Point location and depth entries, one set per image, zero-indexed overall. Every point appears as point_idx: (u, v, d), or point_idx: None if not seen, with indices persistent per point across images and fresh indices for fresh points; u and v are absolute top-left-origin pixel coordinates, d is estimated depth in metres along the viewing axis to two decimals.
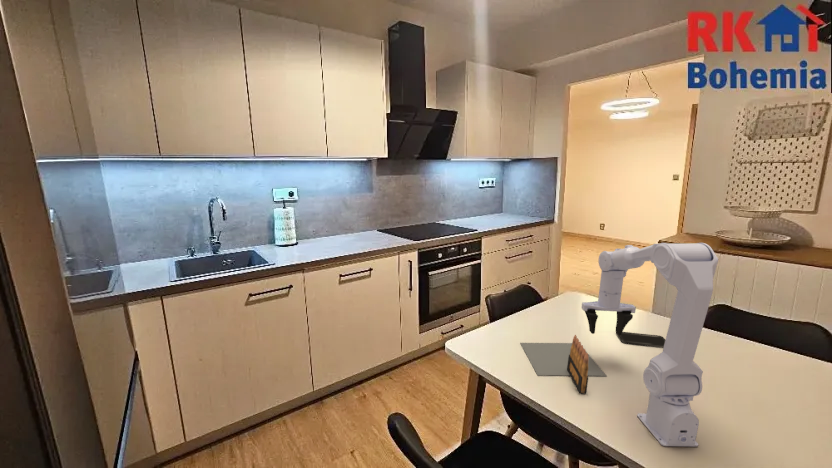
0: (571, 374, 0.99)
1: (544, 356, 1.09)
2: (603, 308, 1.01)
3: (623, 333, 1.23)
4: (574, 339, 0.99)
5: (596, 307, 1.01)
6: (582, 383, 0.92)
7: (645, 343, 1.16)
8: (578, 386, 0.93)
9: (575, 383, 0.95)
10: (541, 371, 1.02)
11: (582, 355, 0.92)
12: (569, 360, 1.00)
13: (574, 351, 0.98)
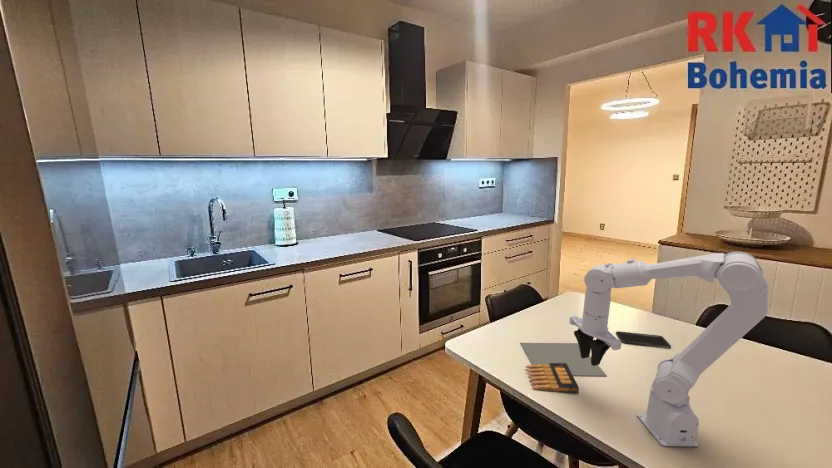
0: None
1: (544, 356, 1.09)
2: (579, 326, 0.89)
3: (623, 333, 1.23)
4: (529, 368, 1.02)
5: (576, 323, 0.91)
6: (566, 391, 0.93)
7: (645, 343, 1.16)
8: None
9: None
10: None
11: (537, 384, 0.96)
12: None
13: None
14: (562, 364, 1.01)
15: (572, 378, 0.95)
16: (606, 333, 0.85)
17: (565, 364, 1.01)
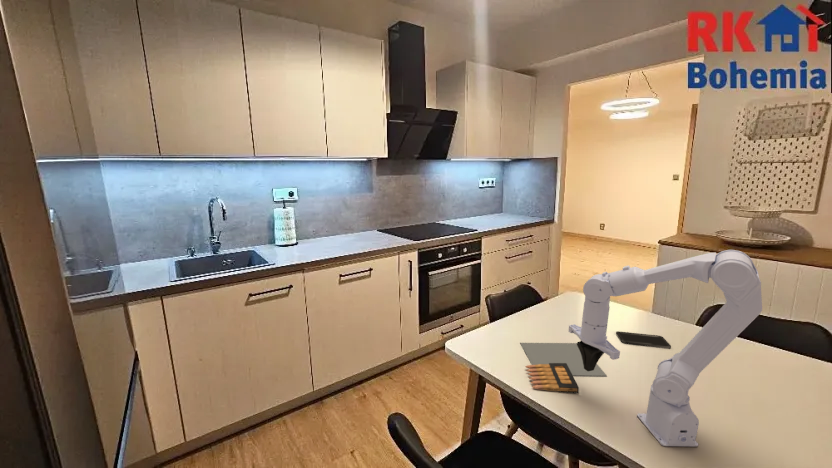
0: None
1: (544, 356, 1.09)
2: (578, 335, 0.89)
3: (623, 333, 1.23)
4: (529, 368, 1.02)
5: (575, 332, 0.91)
6: (566, 391, 0.93)
7: (645, 343, 1.16)
8: None
9: None
10: None
11: (537, 384, 0.96)
12: None
13: None
14: (562, 364, 1.01)
15: (572, 378, 0.95)
16: (605, 342, 0.86)
17: (565, 364, 1.01)
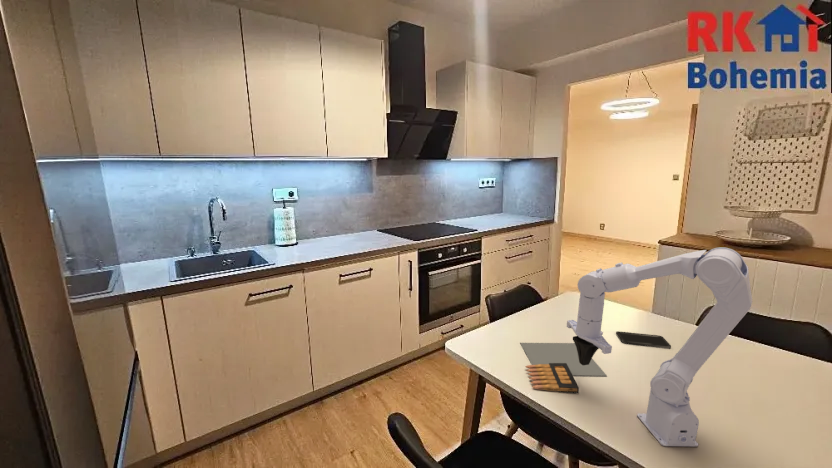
0: None
1: (544, 356, 1.09)
2: (574, 330, 0.92)
3: (623, 333, 1.23)
4: (529, 368, 1.02)
5: (571, 326, 0.94)
6: (566, 391, 0.93)
7: (645, 343, 1.16)
8: None
9: None
10: None
11: (537, 384, 0.96)
12: None
13: None
14: (562, 364, 1.01)
15: (572, 378, 0.95)
16: (599, 337, 0.88)
17: (565, 364, 1.01)
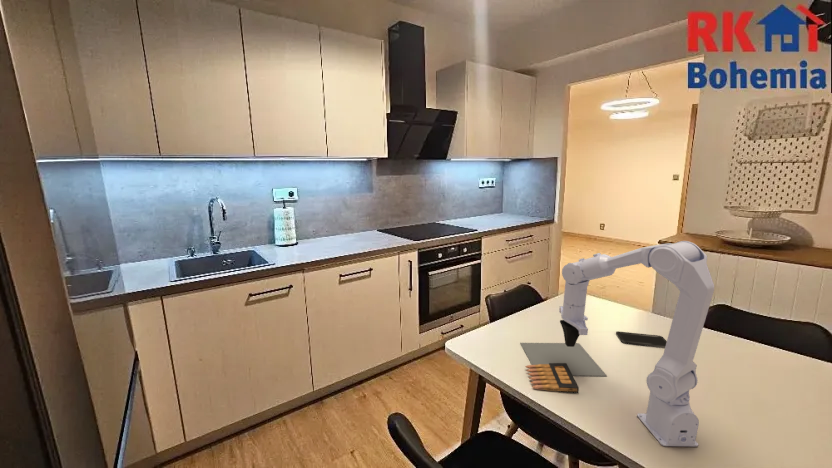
0: None
1: (544, 356, 1.09)
2: (561, 313, 1.02)
3: (623, 333, 1.23)
4: (529, 368, 1.02)
5: (561, 311, 1.04)
6: (566, 391, 0.93)
7: (645, 343, 1.16)
8: None
9: None
10: None
11: (537, 384, 0.96)
12: None
13: None
14: (562, 364, 1.01)
15: (572, 378, 0.95)
16: (581, 321, 0.97)
17: (565, 364, 1.01)
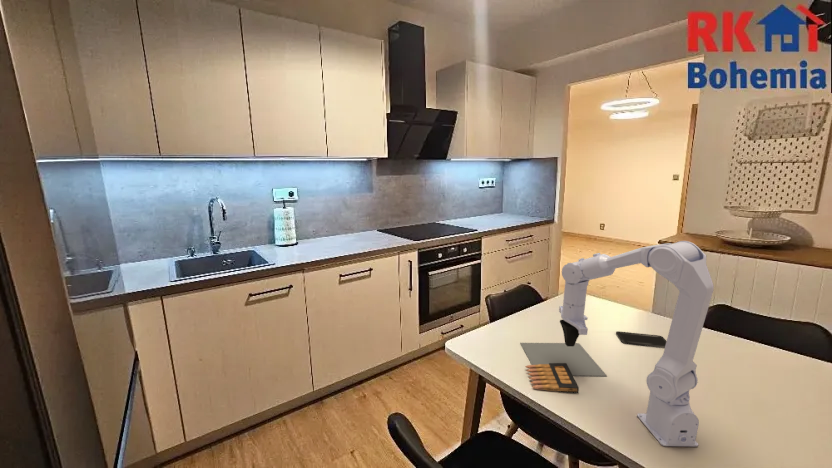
0: None
1: (544, 356, 1.09)
2: (561, 313, 1.02)
3: (623, 333, 1.23)
4: (529, 368, 1.02)
5: (560, 311, 1.04)
6: (566, 391, 0.93)
7: (645, 343, 1.16)
8: None
9: None
10: None
11: (537, 384, 0.96)
12: None
13: None
14: (562, 364, 1.01)
15: (572, 378, 0.95)
16: (580, 321, 0.97)
17: (565, 364, 1.01)
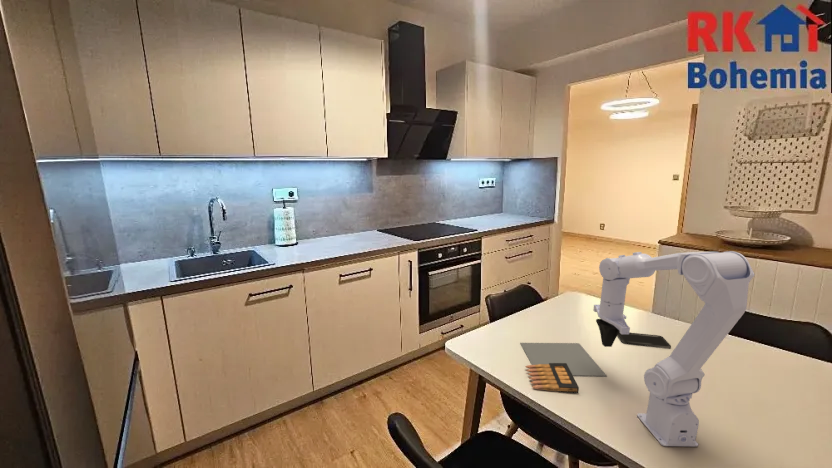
0: None
1: (544, 356, 1.09)
2: (597, 312, 0.97)
3: None
4: (529, 368, 1.02)
5: (596, 310, 0.99)
6: (566, 391, 0.93)
7: (645, 343, 1.16)
8: None
9: None
10: None
11: (537, 384, 0.96)
12: None
13: None
14: (562, 364, 1.01)
15: (572, 378, 0.95)
16: (620, 320, 0.92)
17: (565, 364, 1.01)
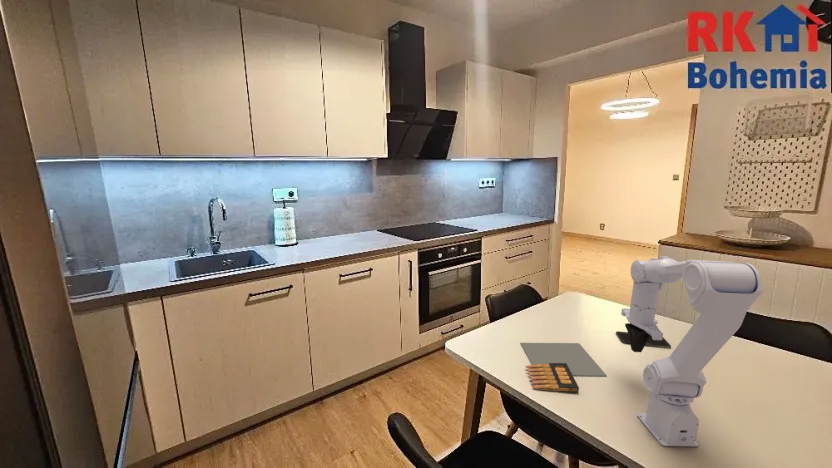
0: None
1: (544, 356, 1.09)
2: (626, 316, 0.94)
3: (623, 333, 1.23)
4: (529, 368, 1.02)
5: (625, 314, 0.96)
6: (566, 391, 0.93)
7: None
8: None
9: None
10: None
11: (537, 384, 0.96)
12: None
13: None
14: (562, 364, 1.01)
15: (572, 378, 0.95)
16: (652, 325, 0.89)
17: (565, 364, 1.01)
